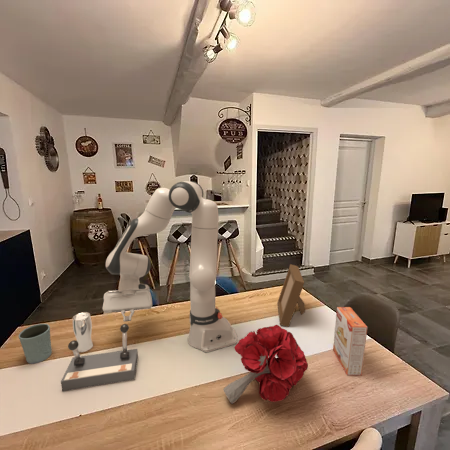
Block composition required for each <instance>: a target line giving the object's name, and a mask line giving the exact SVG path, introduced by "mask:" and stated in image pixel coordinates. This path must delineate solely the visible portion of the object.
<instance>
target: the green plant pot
mask: <svg viewBox="0 0 450 450" xmlns="http://www.w3.org/2000/svg"><path fill="white" fill-rule="evenodd" d="M18 339H19V342H20V344H21V348H22V351H23V354H24V357H25V360H26V362H27V363H28V364H30V365H32V364H33V365H34V364H38V363H41V362H43V361H46V360H47V359H48V358H49V357H51V356H52V352H53V351H52V349H53V348H52V341H51V326H50V324H49V323H38V324H32V325H30V326H28V327H25V328H24V329H23V330H22V331H20V333H19V334H18Z"/></svg>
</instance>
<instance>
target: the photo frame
mask: <svg viewBox="0 0 450 450" xmlns="http://www.w3.org/2000/svg"><path fill="white" fill-rule="evenodd" d="M304 285H305V281H304V277H303V276H302V273H301V271H300V268H299V266H298V265H295V264H291V263H290V264H289V268H288V270H287V272H286V276H285V279H284V282H283V285H282V288H281V291H280V293H279V297H278V299H277V313H278V320H279V321H278V322H279V326H283V327H286V328H289V327H290V325H291V322H292V318H293V315H294V313H295V310H296V307H297V306H298V310H299V313H300V315H303V314H304V313H305V312H306V305H305V301H303V299H302V297H301V296H300V295H301V293H302V291H303V288H304Z"/></svg>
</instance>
